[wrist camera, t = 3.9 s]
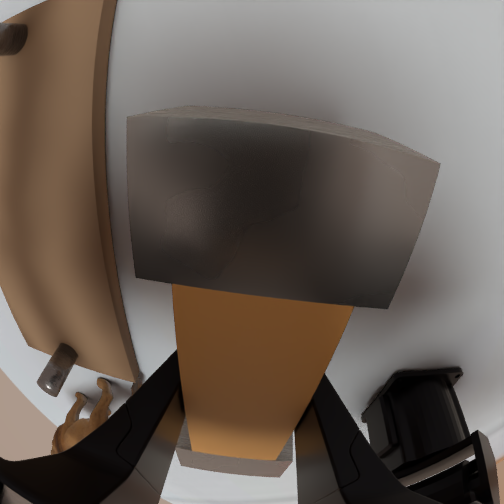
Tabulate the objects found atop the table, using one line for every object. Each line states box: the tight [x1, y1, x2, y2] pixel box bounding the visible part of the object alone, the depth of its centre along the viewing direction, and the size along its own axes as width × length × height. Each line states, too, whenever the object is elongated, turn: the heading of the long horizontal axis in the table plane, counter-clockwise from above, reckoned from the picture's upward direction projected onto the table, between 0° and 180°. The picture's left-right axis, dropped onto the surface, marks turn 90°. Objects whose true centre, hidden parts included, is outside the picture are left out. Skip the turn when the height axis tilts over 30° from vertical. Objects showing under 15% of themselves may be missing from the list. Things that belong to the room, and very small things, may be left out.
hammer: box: [127, 106, 440, 477], centre depth 9 cm, size 5×15×4 cm, turn 174°
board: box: [0, 0, 140, 397], centre depth 10 cm, size 10×22×4 cm, turn 174°
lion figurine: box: [51, 378, 142, 455], centre depth 17 cm, size 15×5×9 cm, turn 138°
